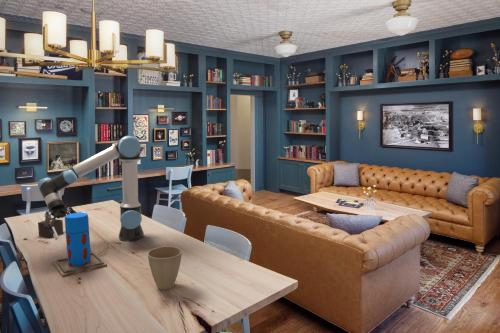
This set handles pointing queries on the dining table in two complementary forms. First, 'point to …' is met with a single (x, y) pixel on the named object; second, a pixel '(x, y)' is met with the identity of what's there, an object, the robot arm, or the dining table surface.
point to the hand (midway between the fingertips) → (70, 235)
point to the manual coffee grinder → (57, 225)
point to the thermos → (77, 239)
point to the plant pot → (164, 265)
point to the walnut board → (70, 270)
